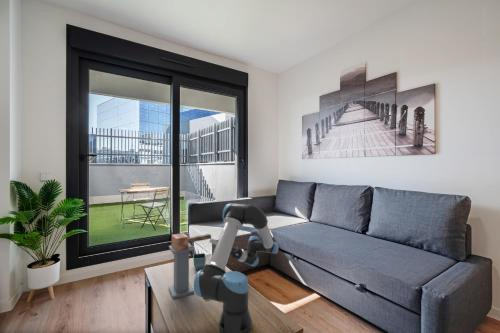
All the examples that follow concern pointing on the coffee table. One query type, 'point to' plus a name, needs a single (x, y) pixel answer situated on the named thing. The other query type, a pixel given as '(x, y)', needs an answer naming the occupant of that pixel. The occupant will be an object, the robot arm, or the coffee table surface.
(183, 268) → the plinth
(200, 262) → the flower pot
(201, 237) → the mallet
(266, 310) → the coffee table surface
